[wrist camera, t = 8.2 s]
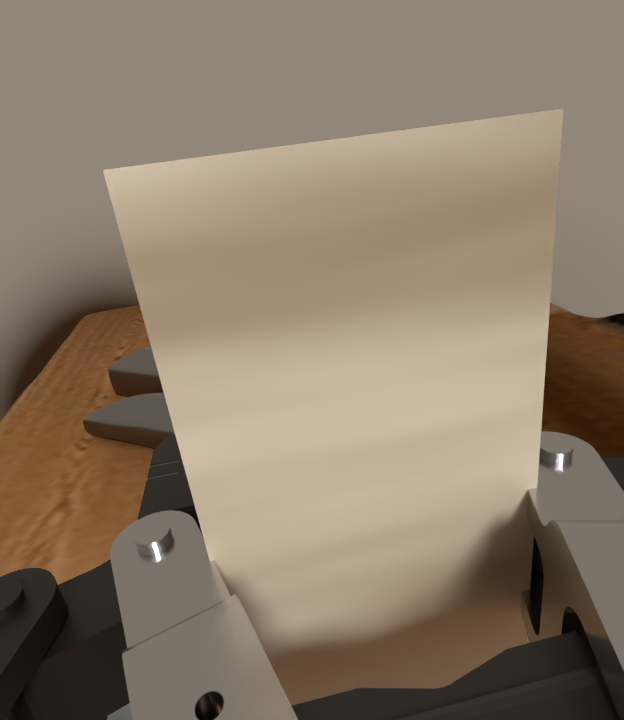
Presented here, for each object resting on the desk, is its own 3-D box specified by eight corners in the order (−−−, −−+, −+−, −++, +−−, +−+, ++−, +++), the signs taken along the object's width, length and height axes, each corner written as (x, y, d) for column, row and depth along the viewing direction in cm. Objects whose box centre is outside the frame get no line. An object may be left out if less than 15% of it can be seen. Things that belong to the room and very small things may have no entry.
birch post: (273, 658, 14) (159, 167, 9) (428, 619, 14) (406, 134, 9) (295, 877, 10) (103, 169, 4) (514, 810, 10) (564, 108, 5)
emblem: (35, 447, 39) (121, 332, 64) (57, 500, 41) (132, 368, 66) (379, 390, 40) (330, 300, 66) (384, 444, 42) (334, 336, 68)
